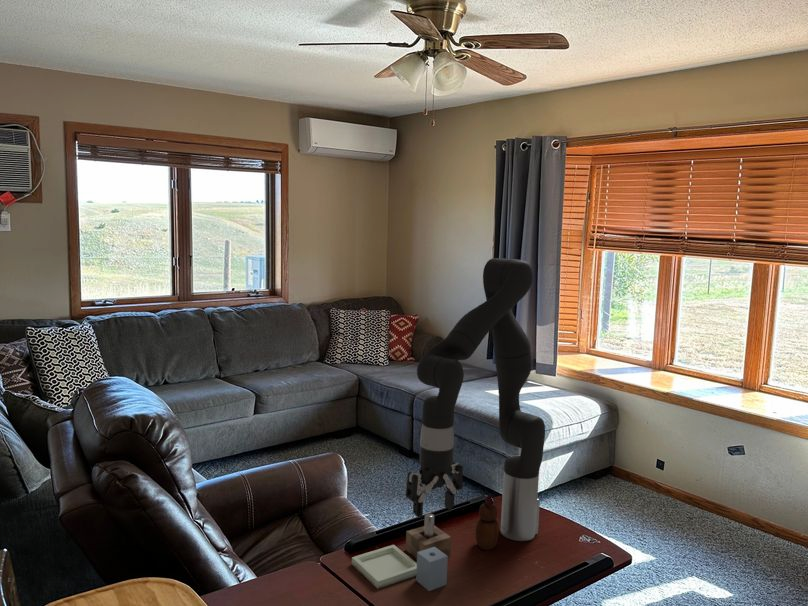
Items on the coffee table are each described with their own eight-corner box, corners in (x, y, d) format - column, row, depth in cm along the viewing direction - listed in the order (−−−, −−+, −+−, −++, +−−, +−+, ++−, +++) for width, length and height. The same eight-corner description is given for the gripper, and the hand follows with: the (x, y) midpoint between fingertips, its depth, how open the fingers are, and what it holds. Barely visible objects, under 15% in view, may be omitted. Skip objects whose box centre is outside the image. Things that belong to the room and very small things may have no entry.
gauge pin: (429, 550, 162) (430, 512, 161) (434, 554, 160) (436, 516, 159) (421, 552, 161) (422, 514, 159) (426, 556, 159) (428, 518, 158)
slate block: (433, 574, 151) (434, 546, 150) (446, 584, 147) (447, 556, 146) (416, 580, 148) (417, 551, 148) (428, 591, 144) (430, 561, 143)
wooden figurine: (496, 554, 161) (499, 497, 159) (473, 551, 162) (476, 495, 160) (498, 541, 168) (501, 486, 166) (476, 538, 169) (479, 484, 167)
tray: (393, 551, 161) (393, 544, 161) (421, 574, 151) (421, 566, 151) (351, 564, 154) (351, 557, 154) (377, 589, 144) (378, 581, 144)
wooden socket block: (431, 541, 166) (432, 523, 166) (450, 555, 160) (451, 537, 159) (405, 549, 162) (406, 531, 161) (424, 564, 155) (424, 545, 155)
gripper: (420, 454, 136) (417, 526, 139) (472, 443, 144) (468, 511, 146) (401, 443, 143) (398, 512, 145) (451, 433, 150) (448, 499, 153)
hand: (433, 512), depth 146 cm, fingers open, 8 cm apart
